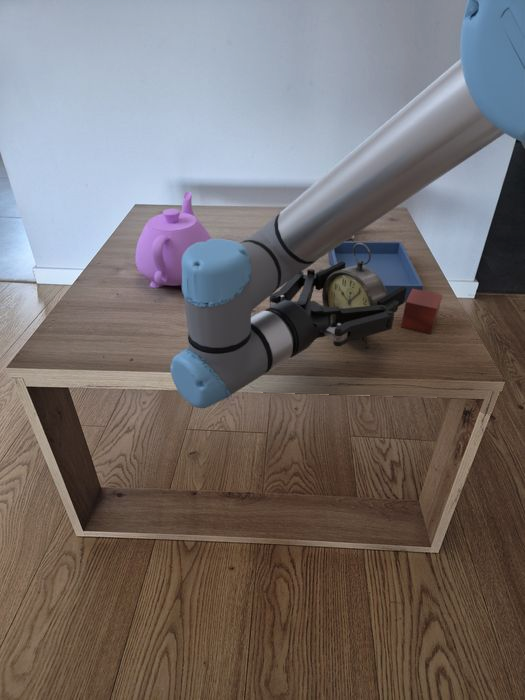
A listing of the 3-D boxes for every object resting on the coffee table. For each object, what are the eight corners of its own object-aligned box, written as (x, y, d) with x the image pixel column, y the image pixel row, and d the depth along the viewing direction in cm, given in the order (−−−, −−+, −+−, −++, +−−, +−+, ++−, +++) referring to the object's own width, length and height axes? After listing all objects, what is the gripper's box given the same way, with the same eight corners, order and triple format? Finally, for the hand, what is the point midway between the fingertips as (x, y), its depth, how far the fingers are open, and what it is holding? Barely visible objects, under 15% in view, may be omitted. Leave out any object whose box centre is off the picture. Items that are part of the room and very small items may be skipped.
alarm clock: (317, 325, 85) (324, 236, 75) (340, 315, 88) (350, 227, 78) (364, 356, 78) (379, 261, 68) (388, 343, 81) (404, 251, 71)
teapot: (161, 249, 110) (153, 187, 102) (230, 254, 108) (227, 191, 100) (122, 299, 92) (108, 229, 84) (202, 306, 90) (196, 235, 82)
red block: (436, 319, 86) (442, 294, 83) (430, 334, 83) (436, 308, 80) (407, 313, 88) (412, 288, 85) (400, 327, 85) (405, 301, 82)
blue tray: (420, 301, 91) (423, 285, 89) (337, 300, 92) (339, 285, 90) (399, 255, 107) (401, 241, 105) (328, 255, 107) (329, 241, 105)
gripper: (221, 324, 77) (315, 277, 89) (341, 396, 63) (432, 329, 75) (219, 281, 72) (318, 238, 85) (346, 349, 59) (442, 286, 71)
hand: (371, 281), depth 80 cm, fingers closed on alarm clock, 11 cm apart
